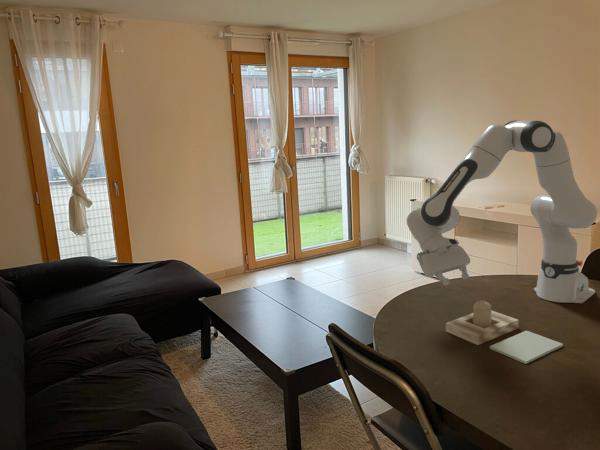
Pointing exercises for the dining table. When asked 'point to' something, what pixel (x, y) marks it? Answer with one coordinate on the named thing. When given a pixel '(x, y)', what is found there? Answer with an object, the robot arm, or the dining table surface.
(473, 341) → the socket block
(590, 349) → the dining table surface
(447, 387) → the dining table surface
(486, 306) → the candle
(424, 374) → the dining table surface
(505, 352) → the sage mat
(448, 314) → the dining table surface
